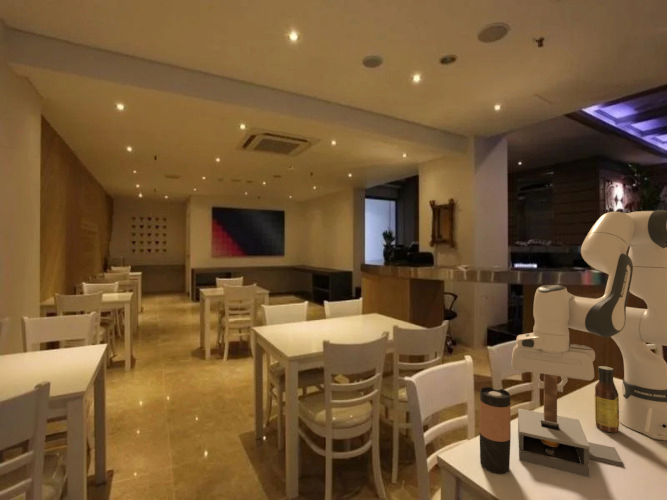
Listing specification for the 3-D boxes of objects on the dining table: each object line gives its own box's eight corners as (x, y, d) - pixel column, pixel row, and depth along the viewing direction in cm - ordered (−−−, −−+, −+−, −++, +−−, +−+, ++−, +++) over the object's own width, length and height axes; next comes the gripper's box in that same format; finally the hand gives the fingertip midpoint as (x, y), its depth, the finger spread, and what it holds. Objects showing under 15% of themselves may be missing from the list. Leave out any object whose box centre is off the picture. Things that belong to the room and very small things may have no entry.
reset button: (558, 440, 102) (558, 432, 102) (560, 448, 98) (560, 439, 98) (540, 437, 104) (540, 428, 104) (541, 444, 100) (541, 435, 100)
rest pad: (614, 450, 102) (614, 447, 102) (622, 466, 95) (622, 462, 95) (581, 443, 106) (581, 440, 106) (586, 457, 98) (586, 454, 98)
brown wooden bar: (555, 418, 101) (556, 363, 101) (556, 423, 99) (557, 366, 99) (543, 416, 103) (544, 361, 103) (544, 420, 100) (545, 364, 100)
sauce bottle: (623, 434, 111) (623, 372, 111) (601, 432, 112) (601, 370, 112) (611, 424, 117) (612, 365, 117) (590, 422, 119) (591, 364, 119)
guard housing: (578, 446, 104) (578, 419, 104) (589, 477, 90) (589, 446, 90) (518, 433, 111) (518, 408, 111) (519, 460, 97) (519, 431, 97)
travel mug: (493, 477, 90) (493, 399, 90) (473, 460, 97) (473, 388, 97) (517, 472, 92) (517, 396, 92) (495, 455, 99) (496, 385, 99)
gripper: (592, 343, 99) (592, 392, 99) (511, 335, 108) (511, 379, 108) (597, 349, 93) (597, 401, 93) (511, 339, 102) (511, 386, 102)
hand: (550, 389), depth 101 cm, fingers closed on brown wooden bar, 3 cm apart
